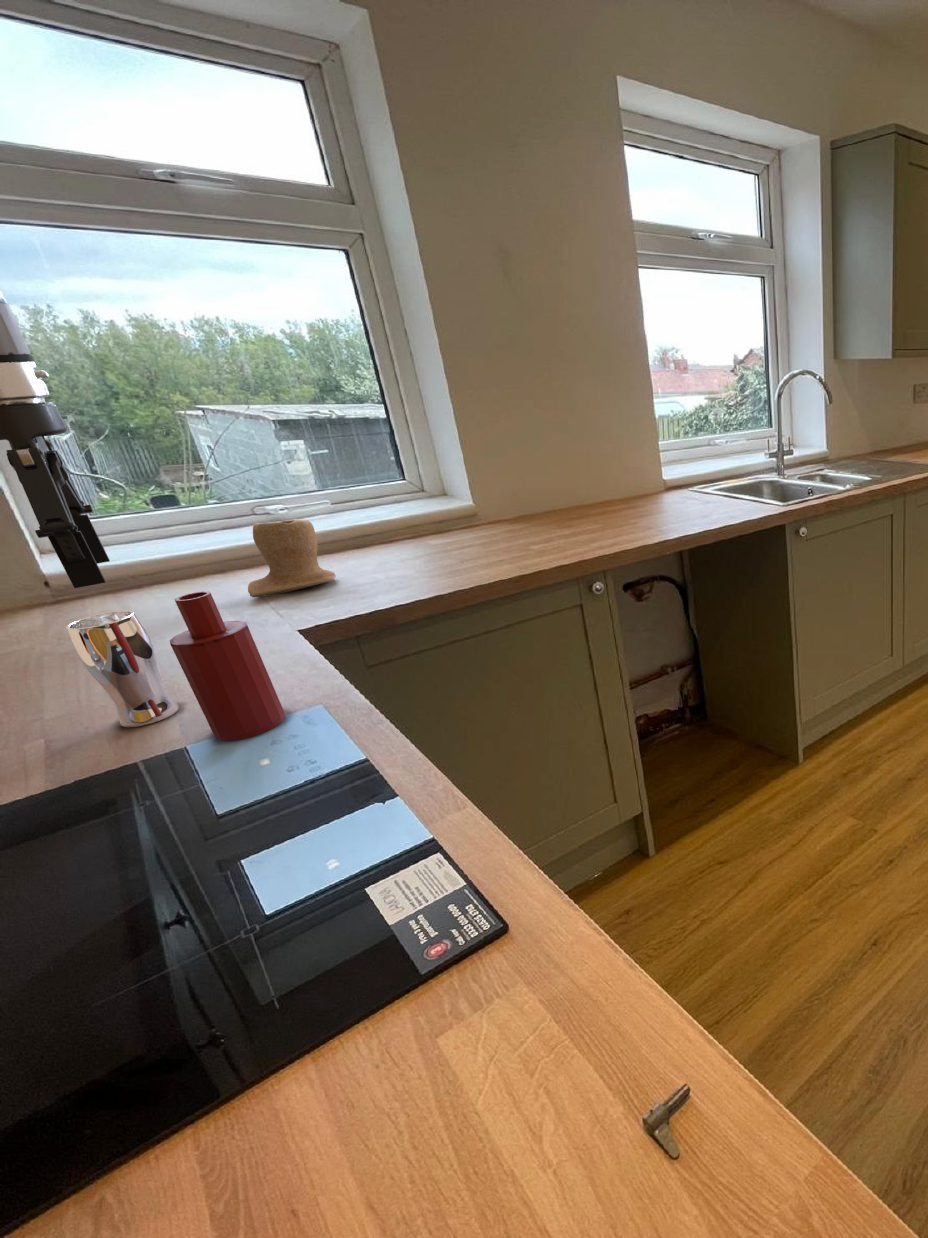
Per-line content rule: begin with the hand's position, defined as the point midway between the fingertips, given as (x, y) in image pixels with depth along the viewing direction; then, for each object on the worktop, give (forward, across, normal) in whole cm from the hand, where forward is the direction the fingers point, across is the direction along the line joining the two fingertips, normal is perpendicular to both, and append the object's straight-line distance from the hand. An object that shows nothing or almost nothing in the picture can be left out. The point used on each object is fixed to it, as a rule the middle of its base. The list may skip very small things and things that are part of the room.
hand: (93, 573), depth 88 cm
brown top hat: (+21, +55, -22) cm, 63 cm away
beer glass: (+21, +1, +1) cm, 21 cm away
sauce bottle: (+21, -14, -9) cm, 27 cm away
